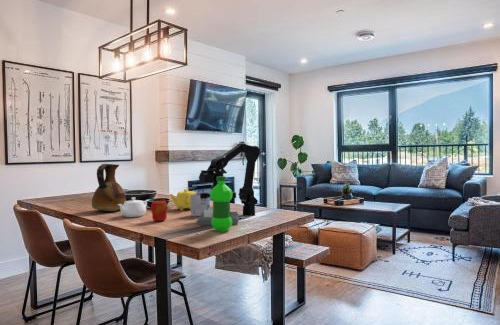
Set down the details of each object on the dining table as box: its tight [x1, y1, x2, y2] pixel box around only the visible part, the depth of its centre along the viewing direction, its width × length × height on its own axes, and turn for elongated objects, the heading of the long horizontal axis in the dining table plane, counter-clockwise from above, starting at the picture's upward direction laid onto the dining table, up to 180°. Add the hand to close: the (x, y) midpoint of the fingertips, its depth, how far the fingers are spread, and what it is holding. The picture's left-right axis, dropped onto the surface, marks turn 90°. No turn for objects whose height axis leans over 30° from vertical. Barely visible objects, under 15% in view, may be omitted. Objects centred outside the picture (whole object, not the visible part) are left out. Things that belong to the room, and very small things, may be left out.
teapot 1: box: [117, 196, 148, 218], centre depth 203 cm, size 22×14×11 cm, turn 153°
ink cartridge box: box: [190, 189, 211, 217], centre depth 202 cm, size 10×6×14 cm, turn 78°
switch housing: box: [197, 211, 239, 226], centre depth 184 cm, size 20×16×4 cm
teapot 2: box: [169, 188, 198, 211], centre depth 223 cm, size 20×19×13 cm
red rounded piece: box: [150, 200, 169, 222], centre depth 188 cm, size 9×8×12 cm
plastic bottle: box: [209, 175, 233, 232], centre depth 164 cm, size 10×10×25 cm
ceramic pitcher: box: [91, 163, 127, 212], centre depth 221 cm, size 20×20×30 cm
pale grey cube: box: [204, 210, 213, 217], centre depth 180 cm, size 4×4×4 cm
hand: (218, 211), depth 189 cm, fingers closed
